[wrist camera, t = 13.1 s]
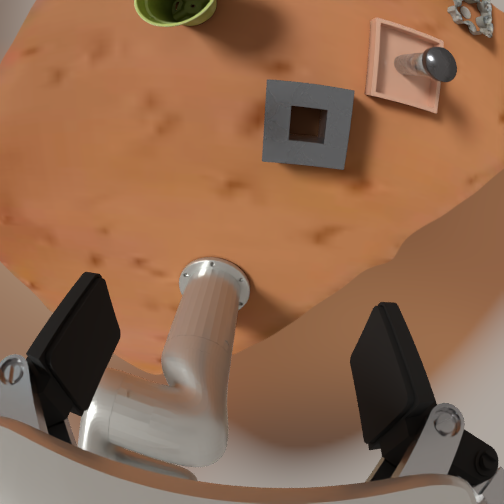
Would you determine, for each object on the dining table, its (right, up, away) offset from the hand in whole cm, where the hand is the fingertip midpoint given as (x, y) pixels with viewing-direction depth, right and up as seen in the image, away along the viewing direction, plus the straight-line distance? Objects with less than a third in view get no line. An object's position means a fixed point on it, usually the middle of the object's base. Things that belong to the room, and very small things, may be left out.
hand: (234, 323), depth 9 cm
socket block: (+7, +20, +25) cm, 33 cm away
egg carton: (+33, +40, +10) cm, 52 cm away
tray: (+21, +27, +19) cm, 39 cm away
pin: (+21, +27, +18) cm, 39 cm away
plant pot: (-7, +34, +17) cm, 39 cm away
